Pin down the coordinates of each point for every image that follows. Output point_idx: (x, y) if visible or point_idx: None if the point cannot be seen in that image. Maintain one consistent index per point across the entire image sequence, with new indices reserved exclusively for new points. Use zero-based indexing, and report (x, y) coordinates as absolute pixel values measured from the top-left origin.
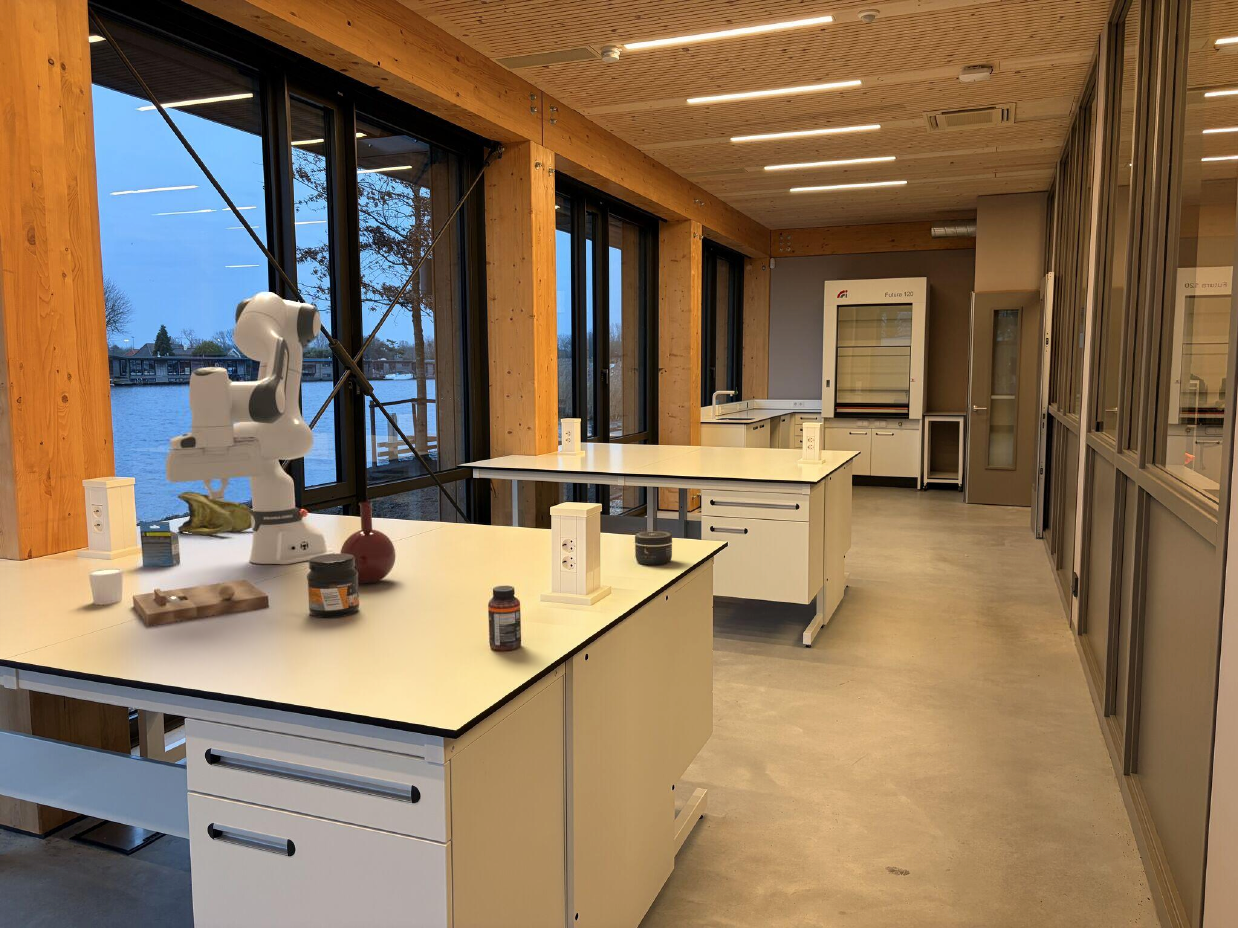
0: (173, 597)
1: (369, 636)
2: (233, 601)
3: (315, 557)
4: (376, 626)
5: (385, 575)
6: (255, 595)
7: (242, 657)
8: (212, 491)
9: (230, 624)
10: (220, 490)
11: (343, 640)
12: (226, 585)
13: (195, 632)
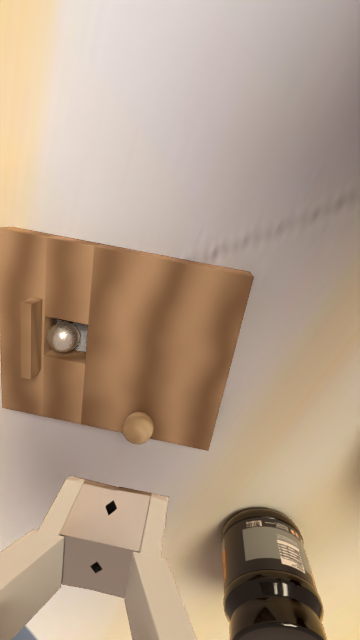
0: (57, 347)
1: (219, 627)
2: None
3: (259, 634)
4: None
5: None
6: (192, 431)
7: None
8: (52, 583)
9: (117, 477)
10: (128, 583)
11: (190, 618)
12: (133, 440)
13: (65, 475)
